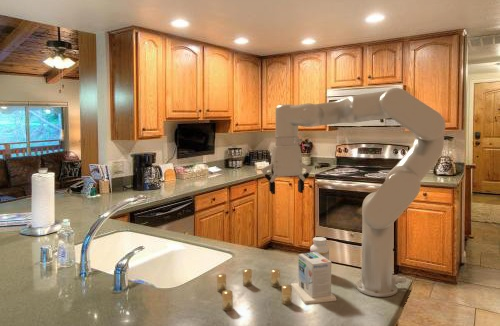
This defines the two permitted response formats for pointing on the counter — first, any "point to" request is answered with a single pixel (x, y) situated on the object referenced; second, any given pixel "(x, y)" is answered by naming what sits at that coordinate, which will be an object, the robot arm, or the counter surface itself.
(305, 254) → the light bulb box
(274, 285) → the brass cylinders
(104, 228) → the counter surface
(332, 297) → the plate
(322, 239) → the supplement bottle
